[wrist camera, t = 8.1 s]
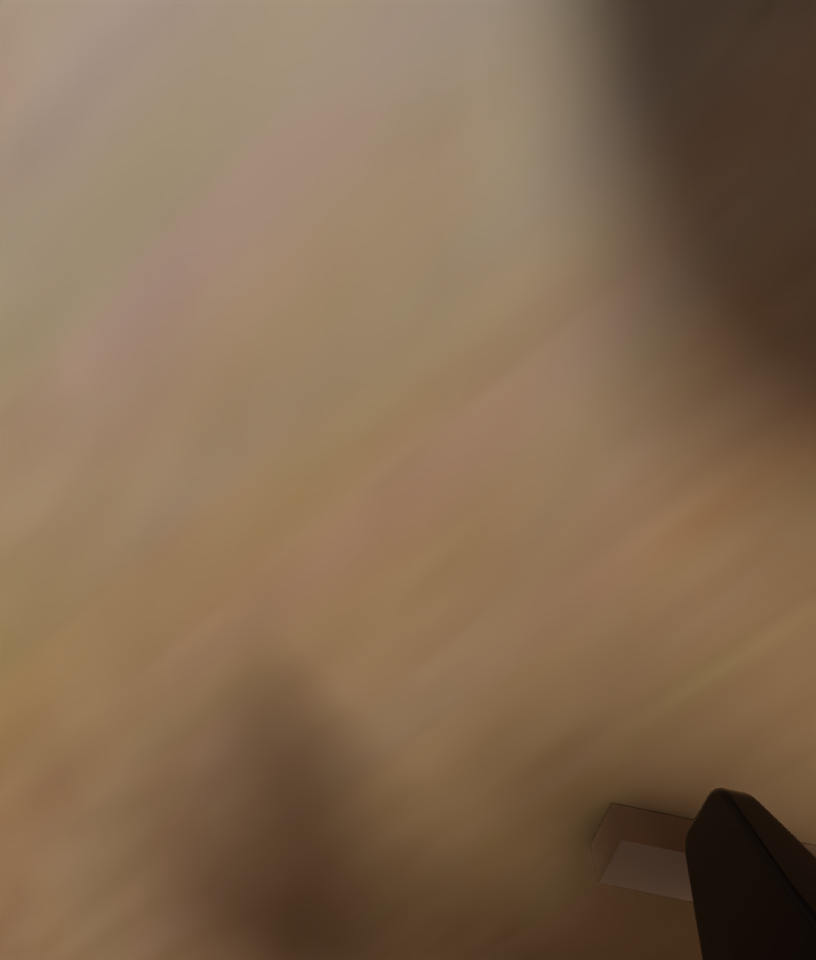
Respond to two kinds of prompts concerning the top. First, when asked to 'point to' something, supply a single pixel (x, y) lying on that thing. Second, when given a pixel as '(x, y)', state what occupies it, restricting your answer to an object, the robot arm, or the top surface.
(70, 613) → the top surface
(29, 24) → the top surface
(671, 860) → the walnut bay
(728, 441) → the top surface
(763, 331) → the top surface
